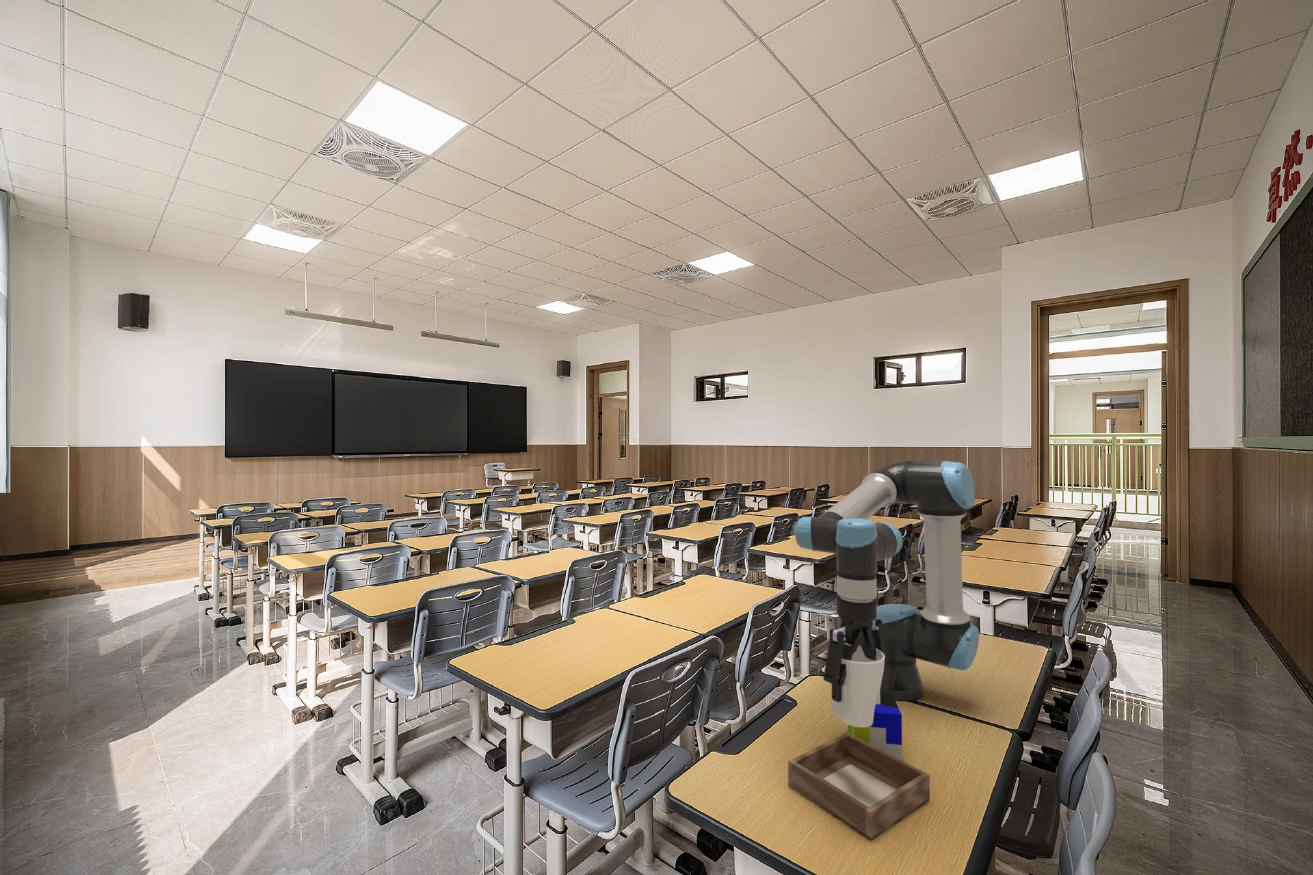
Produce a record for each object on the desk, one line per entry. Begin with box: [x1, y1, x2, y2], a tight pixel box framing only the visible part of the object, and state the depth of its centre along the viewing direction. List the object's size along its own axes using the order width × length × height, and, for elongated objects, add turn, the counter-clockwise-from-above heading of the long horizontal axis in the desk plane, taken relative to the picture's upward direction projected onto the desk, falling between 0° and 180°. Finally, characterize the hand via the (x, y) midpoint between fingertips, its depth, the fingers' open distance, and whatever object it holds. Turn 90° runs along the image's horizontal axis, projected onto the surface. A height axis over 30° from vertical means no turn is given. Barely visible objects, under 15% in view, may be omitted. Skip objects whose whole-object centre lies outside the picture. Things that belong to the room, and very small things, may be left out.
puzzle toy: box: [847, 693, 903, 761], centre depth 128 cm, size 10×10×10 cm
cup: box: [841, 642, 885, 728], centre depth 111 cm, size 10×10×14 cm
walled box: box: [787, 732, 931, 842], centre depth 111 cm, size 19×19×5 cm
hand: (856, 708), depth 111 cm, fingers closed on cup, 10 cm apart
